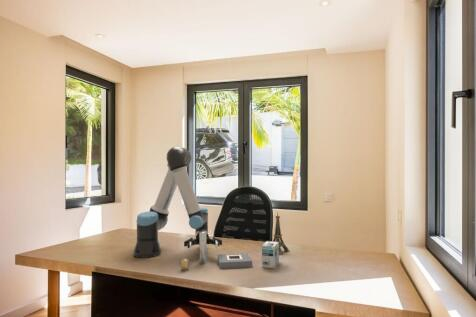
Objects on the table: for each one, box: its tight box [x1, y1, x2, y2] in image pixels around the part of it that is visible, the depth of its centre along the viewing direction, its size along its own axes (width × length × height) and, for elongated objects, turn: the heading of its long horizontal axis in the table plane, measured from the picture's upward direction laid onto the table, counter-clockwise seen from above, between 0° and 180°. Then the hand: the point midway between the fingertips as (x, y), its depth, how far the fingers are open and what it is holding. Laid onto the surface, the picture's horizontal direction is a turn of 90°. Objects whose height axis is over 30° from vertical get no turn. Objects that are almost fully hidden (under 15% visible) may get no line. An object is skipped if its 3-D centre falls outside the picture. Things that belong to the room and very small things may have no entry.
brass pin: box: [180, 258, 190, 272], centre depth 154 cm, size 4×4×5 cm
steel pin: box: [198, 232, 207, 265], centre depth 164 cm, size 4×4×16 cm
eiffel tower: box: [272, 212, 290, 256], centre depth 185 cm, size 11×11×25 cm
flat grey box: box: [217, 252, 253, 270], centre depth 163 cm, size 16×14×3 cm
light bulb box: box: [261, 240, 280, 269], centre depth 161 cm, size 11×7×11 cm, turn 161°
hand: (203, 246), depth 162 cm, fingers open, 13 cm apart
